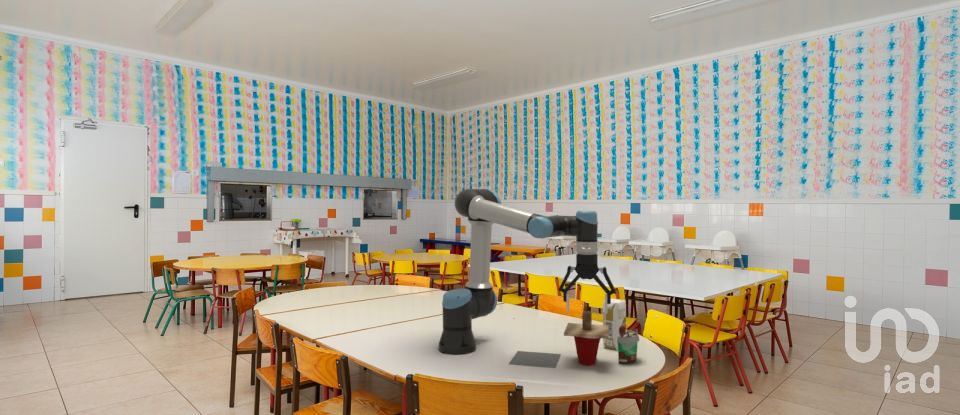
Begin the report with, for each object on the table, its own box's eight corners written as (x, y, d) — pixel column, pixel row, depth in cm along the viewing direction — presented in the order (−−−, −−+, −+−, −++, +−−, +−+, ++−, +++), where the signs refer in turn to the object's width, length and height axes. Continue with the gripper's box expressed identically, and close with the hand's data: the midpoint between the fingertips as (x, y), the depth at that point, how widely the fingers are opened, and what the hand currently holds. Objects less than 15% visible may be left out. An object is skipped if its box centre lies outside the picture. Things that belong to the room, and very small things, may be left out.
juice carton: (600, 347, 204) (600, 300, 203) (611, 343, 210) (611, 297, 210) (618, 351, 198) (617, 303, 198) (628, 346, 205) (628, 300, 205)
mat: (508, 365, 182) (508, 364, 182) (517, 352, 198) (517, 350, 198) (555, 369, 177) (555, 368, 177) (561, 355, 194) (561, 354, 194)
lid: (564, 335, 177) (563, 315, 177) (568, 325, 192) (568, 307, 192) (608, 338, 173) (608, 318, 173) (608, 328, 188) (608, 309, 188)
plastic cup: (598, 371, 175) (598, 336, 175) (568, 367, 180) (568, 333, 180) (606, 362, 185) (605, 329, 185) (577, 358, 190) (577, 326, 190)
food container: (634, 367, 179) (634, 339, 179) (617, 364, 183) (617, 337, 183) (643, 358, 190) (643, 331, 190) (627, 355, 193) (626, 329, 193)
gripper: (550, 253, 182) (550, 312, 182) (622, 255, 175) (622, 316, 176) (553, 251, 189) (553, 307, 190) (622, 253, 182) (622, 311, 183)
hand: (586, 312), depth 183 cm, fingers open, 13 cm apart
